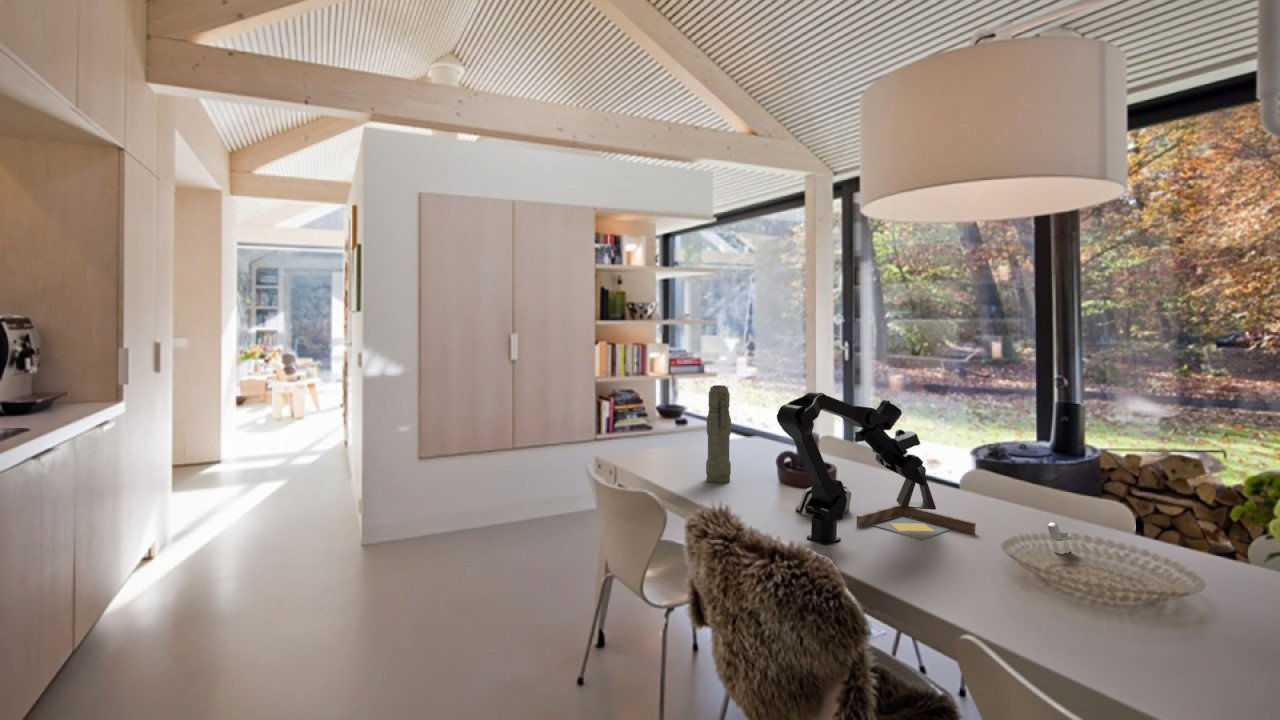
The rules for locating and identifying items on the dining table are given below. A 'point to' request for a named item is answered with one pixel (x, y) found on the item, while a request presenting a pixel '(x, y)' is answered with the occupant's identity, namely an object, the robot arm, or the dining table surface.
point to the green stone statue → (718, 435)
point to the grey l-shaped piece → (1058, 533)
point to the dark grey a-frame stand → (908, 490)
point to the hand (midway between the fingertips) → (918, 481)
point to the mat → (912, 528)
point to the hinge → (808, 495)
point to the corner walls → (916, 514)
